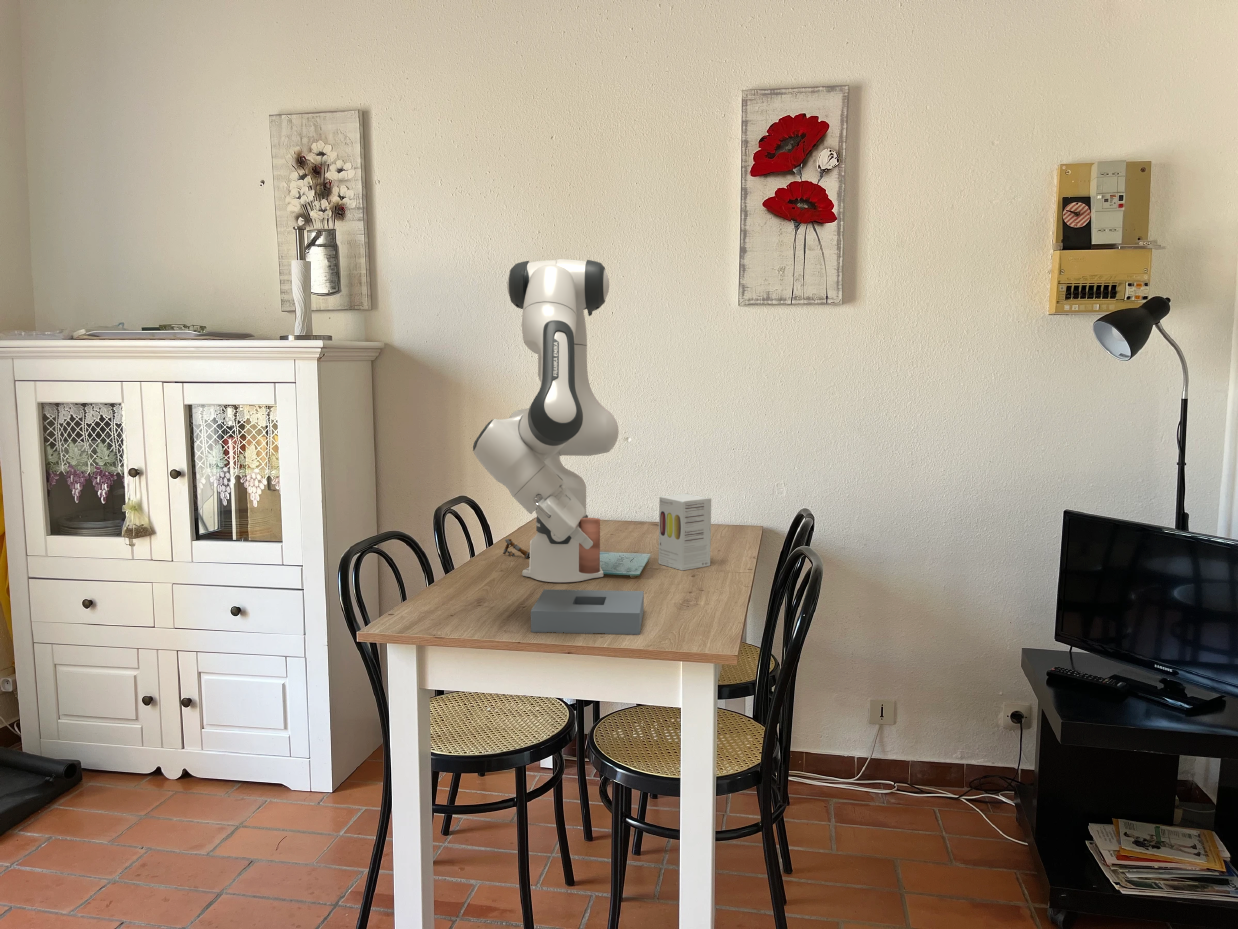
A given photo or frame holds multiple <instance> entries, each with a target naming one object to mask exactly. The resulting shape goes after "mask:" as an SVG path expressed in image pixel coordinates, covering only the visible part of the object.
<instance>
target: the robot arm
mask: <svg viewBox="0 0 1238 929" xmlns="http://www.w3.org/2000/svg"><path fill="white" fill-rule="evenodd" d="M609 278H610V277H609V275H608V272H607V271H606V268H605V266H604V265H603V263H602V262H599V261H596V260H592V259H587V260H581V259H569V258H568V259H567V258H556V259H546V260H536V261H530V260H525V261H524V260H523V261H520V262H517V263H515V264H514V265H513V266H512V267H511V268H510V270H509V274H508V277H507V282H506V288H507V293H508V296H509V300H510V302H511V304H513V305H514V306H515V307H516V308H518V309H520V310H522V316H521V317H522V318H521V331H522V332H521V333H522V340H523V343H524V345H525V346H526V347H527V348H528V349H529V350H530V351H531V352H532V353H534V354H536V355H537V377H538V380H539V382H540V387H539V390H538V392H537V394H536V395H535V397H534V398H533V401H532V402H531V403H530V405H529V407H528V408H527V407H526V408H521V409H517V410H514V411H513V412H512V413H511V415H510V416H509V418H504V419H503V418H502V419H501V418H500V419H497V418H494V419H493V418H492V419H491V420H490V421H489V422H488V423H487V424H485V426H484V427H483V429H482V430H481V432H480V433H479V435H478V436H477V437H476V439H475V440H474V441H473V446H472V452H473V454H474V457H476V459H477V460H478V462H479V463H480V464H481V465H482V466H483V468H484V469H485V470H486V471H487V472H488V474H490V475H491V476H492V478H493V479H494V480H496V482H497V483H499V484H502V486H504V487H505V488H506V489H507V490H508V491H509V494H510V496H512V498H514V499H515V501H516V502H517V503H518V504H519V505H520V506H521V507H522V508H523V509H524V510H526V512H528V514H530V515H531V514H533V513H534V512H535V514H536V521H535V525H536V528H535V530H536V532H537V533H536V534H535V536H534V537H532V539H530V542H529V552H530V558H529V563H528V564H529V567H527V568H525V569H523V570H522V572H521V575H522V576H523V577H529V578H532V579H534V580H538V581H541V582H549V583H575V582H581V581H588V580H591V579H597V578H603V577H604V571H603V569H602V566H600V572H598V573H593V574H586V573H580V572H579V543H580V544H581V545H582V546H583V547H584V548H585V549H589V548H590V547H591V546H592V545H593V543H594V542H593V540H592V539H591V538H590V537H589V536H587V535H586V534H585V533H583V532H582V531H581V529H580V528H579V522H580V519H581V518H589V515H588V514H587V485H586V482H585V480H584V479H583V478H582V476H580V475H579V474H577V472H576V473H575V472H574V471H572V470H570V469H568V468H566V467H565V465H563V463H562V461H561V456H569V457H571V456H572V457H573V456H574V457H576V456H579V457H581V456H582V457H584V456H585V457H590V456H597V455H602V454H607V453H609V452H610V451H612V450H613V449H614V447H615V445H616V444H617V441H618V438H619V425H618V422H617V419H616V418H615V415H613V413H611V412H610V411H609V410H608V409H606V408H605V406H603V405H602V404H601V403H600V402H599V400H598V399H597V398H596V396H595V394H594V392H593V390H592V388H591V384H590V380H589V374H588V373H589V372H588V334H587V323H586V316H585V312H584V311H585V310H587V314H588V316H589V317H591V316H592V315H593V312H595V311H597V310H599V309H600V308H601V307H602V306H603V305H604V304H605V302H606V299H607V296H608V295H609V292H610V291H609V290H610V279H609Z"/></svg>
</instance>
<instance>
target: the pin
mask: <svg viewBox="0 0 1238 929" xmlns="http://www.w3.org/2000/svg"><path fill="white" fill-rule="evenodd" d="M579 528H580V529H581V531H582V532H583V533H585V534H586V535H587V536H589V537H590V538H591V539H592V540H593V542H594V543H593V545H592V546H591V547H590V548H589V549H585V548H584V547H583V546H582V545H581V544H580V543H579V572H580V573H586V574H593V573H598V572H600V567H601V519H600V518H598V517H588V518H581V519H580V522H579Z"/></svg>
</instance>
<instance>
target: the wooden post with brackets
mask: <svg viewBox="0 0 1238 929" xmlns="http://www.w3.org/2000/svg"><path fill="white" fill-rule="evenodd" d="M504 541H505V543H506V545H505V548H504V549H503V552H502V554H503V555H506V554H508V556H509V557H511V556H512V557H513V556H515V557H516V553H514V552H513V551H509V548H511V547H512V549H514V550H515V551H517V552H519V553H520V554H521V555H523V556H524V559H525V558H527V559H529V558H528V557H530V551H527V550H525V549H523V548H522V547H521V546H520V545H518V544H516V543H514V542H513V540H512V539H511V538H505V539H504Z"/></svg>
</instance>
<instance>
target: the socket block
mask: <svg viewBox="0 0 1238 929" xmlns="http://www.w3.org/2000/svg"><path fill="white" fill-rule="evenodd" d="M644 594H645V593H644V590H608V589H607V590H605V589H604V590H601V589H600V590H599V589H598V590H597V589H549V588H548V589H547V588H546V589H545V588H544V589H543V590H542V591H541V594H540V595H539V597H538V598H537V601H536V602H535V603H534V605H533V606H532V608H531V610H530V632H531V633H547V632H552V633H553V632H556V633H558V634H559V633H561V634H593V633H605V634H604V635H639V634H641V630H642V623H643V616H644V611H645V610H644V609H645V608H644V607H645V605H644V604H645V602H644V601H645V596H644ZM563 632H564V633H563ZM556 633H555V634H556Z"/></svg>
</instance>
